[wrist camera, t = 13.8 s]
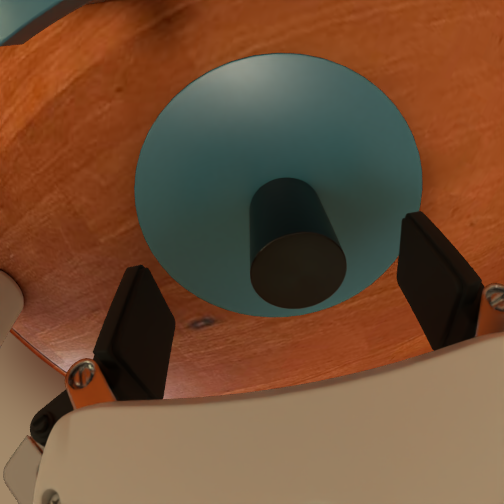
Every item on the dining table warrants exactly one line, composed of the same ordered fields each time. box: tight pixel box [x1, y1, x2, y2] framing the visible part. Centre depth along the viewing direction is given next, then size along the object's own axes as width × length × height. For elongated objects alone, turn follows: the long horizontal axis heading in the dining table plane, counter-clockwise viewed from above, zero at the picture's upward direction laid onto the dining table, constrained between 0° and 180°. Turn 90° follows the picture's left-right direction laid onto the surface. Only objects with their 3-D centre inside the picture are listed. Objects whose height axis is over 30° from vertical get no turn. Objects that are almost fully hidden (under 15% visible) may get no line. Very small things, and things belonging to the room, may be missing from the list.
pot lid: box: [134, 53, 422, 317], centre depth 13 cm, size 15×15×6 cm
